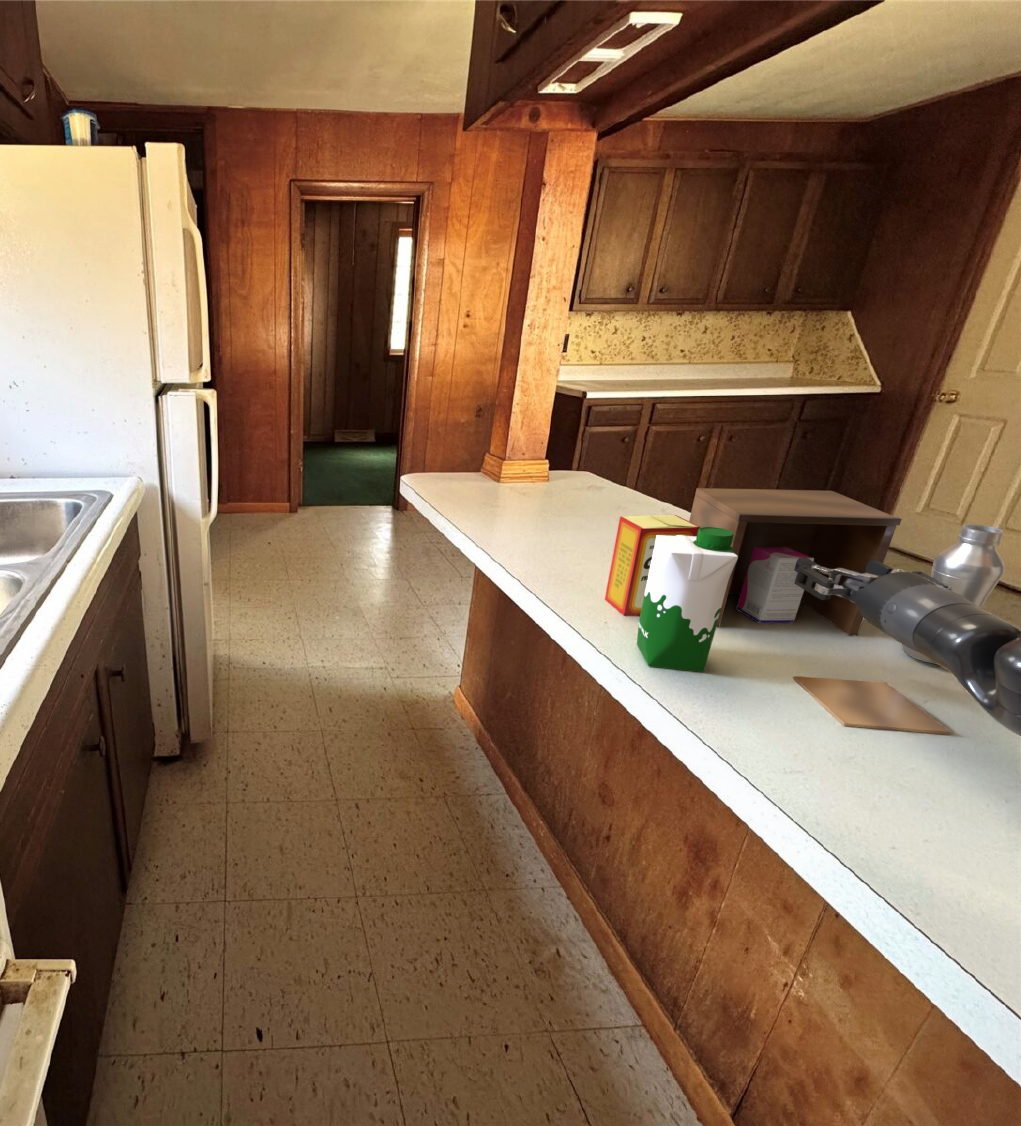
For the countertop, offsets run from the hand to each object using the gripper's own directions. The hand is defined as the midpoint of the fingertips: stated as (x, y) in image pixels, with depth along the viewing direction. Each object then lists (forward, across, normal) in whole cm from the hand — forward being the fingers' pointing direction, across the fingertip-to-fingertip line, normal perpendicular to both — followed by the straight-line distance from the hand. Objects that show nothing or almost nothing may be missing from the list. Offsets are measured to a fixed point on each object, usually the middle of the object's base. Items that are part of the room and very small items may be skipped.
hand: (834, 565), depth 88 cm
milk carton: (-5, -20, -14) cm, 25 cm away
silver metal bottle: (0, +16, -14) cm, 21 cm away
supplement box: (+12, 0, -14) cm, 19 cm away
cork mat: (-14, 0, -14) cm, 20 cm away
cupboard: (+14, 0, -14) cm, 20 cm away
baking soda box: (+13, -18, -14) cm, 27 cm away
